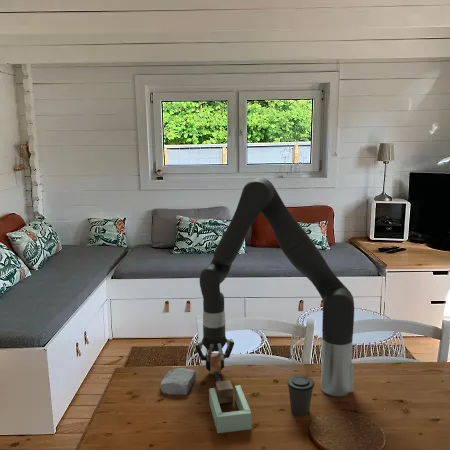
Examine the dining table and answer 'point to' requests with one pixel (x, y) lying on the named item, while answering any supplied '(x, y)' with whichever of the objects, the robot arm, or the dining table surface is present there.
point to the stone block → (178, 381)
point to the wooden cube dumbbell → (222, 387)
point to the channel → (230, 413)
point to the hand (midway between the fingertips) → (214, 369)
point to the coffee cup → (300, 394)
